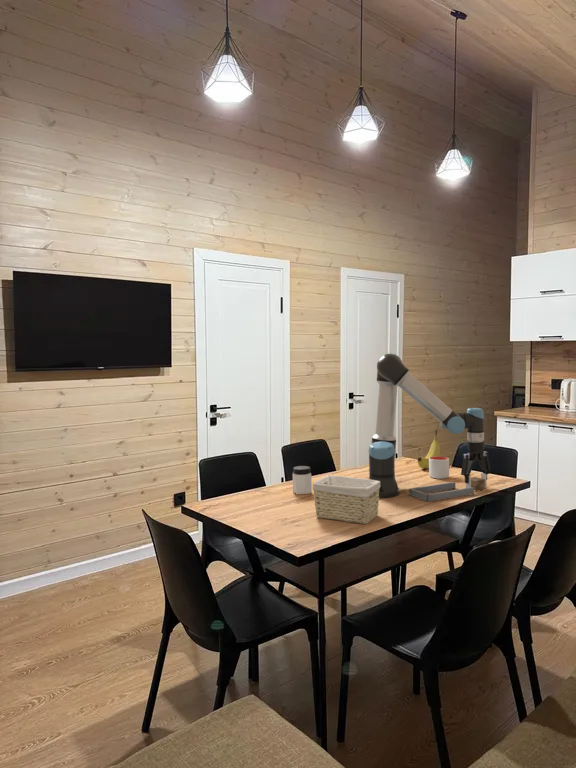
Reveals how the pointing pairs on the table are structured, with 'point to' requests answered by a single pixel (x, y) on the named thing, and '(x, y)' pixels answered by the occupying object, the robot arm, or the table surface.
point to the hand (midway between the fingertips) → (476, 488)
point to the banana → (430, 453)
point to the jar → (302, 480)
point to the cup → (439, 467)
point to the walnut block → (477, 483)
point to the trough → (425, 492)
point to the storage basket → (346, 498)
